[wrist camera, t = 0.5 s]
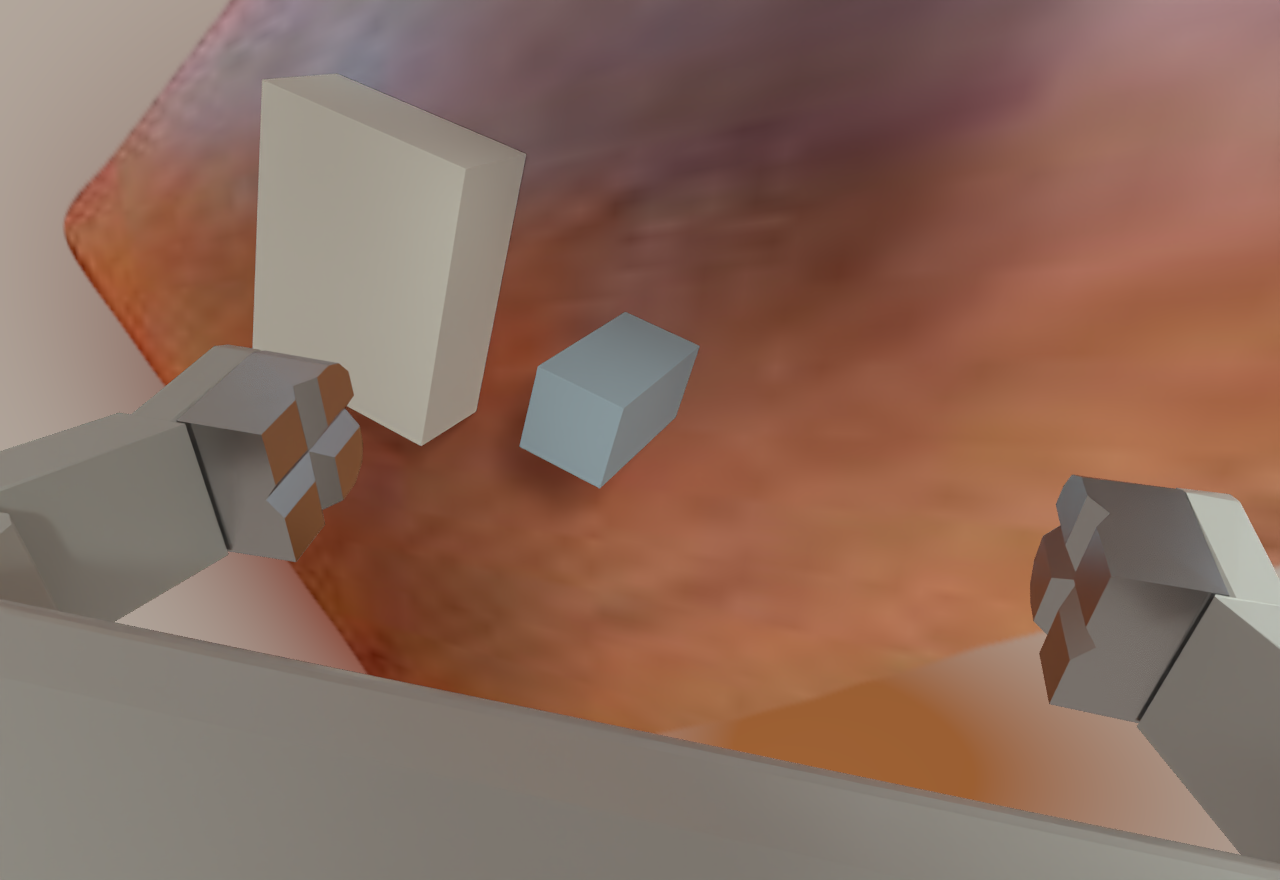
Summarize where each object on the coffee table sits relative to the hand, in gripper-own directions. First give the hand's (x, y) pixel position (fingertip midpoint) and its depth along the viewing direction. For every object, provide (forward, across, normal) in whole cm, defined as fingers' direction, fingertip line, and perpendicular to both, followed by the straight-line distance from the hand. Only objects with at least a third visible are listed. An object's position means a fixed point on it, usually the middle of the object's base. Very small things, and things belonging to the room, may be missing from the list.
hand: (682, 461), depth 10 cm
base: (+42, +24, +19) cm, 52 cm away
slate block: (+37, +7, +22) cm, 44 cm away
